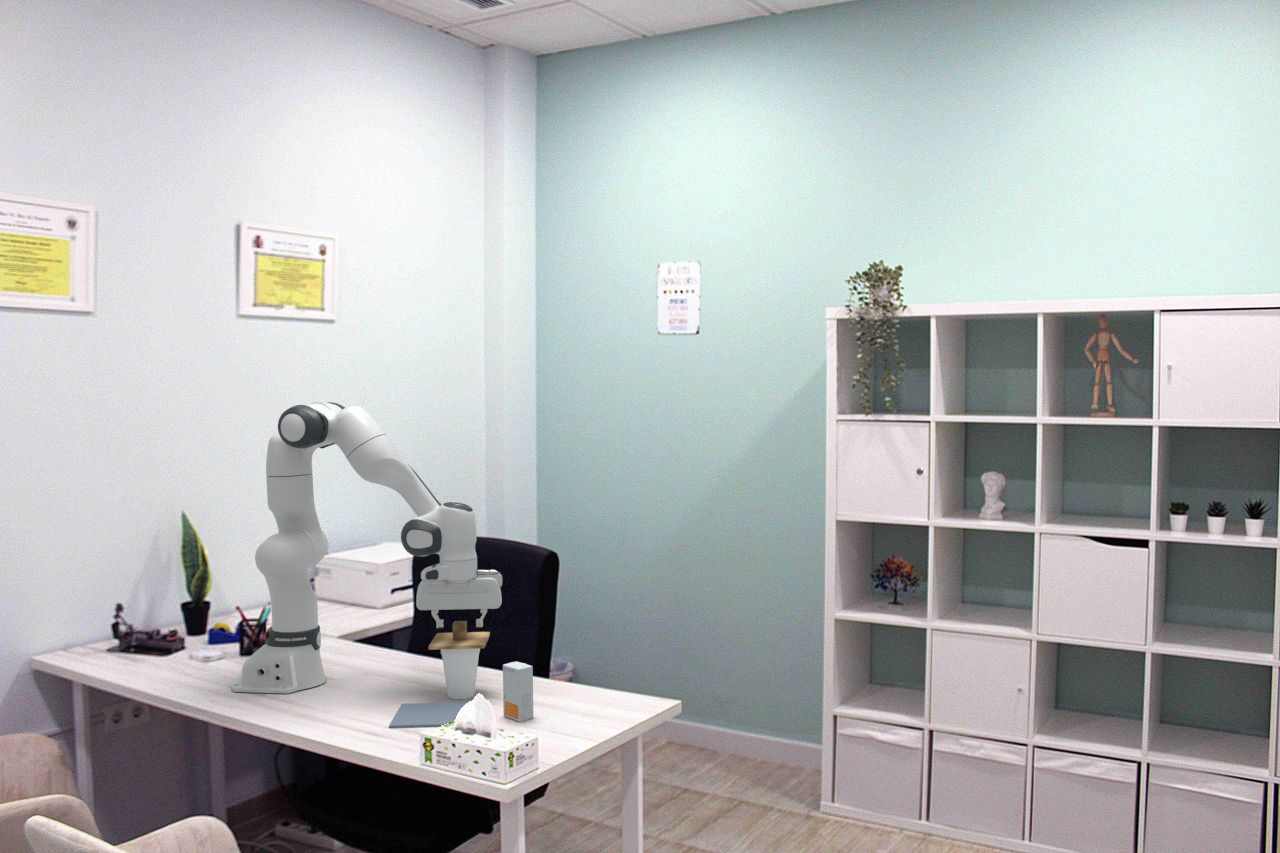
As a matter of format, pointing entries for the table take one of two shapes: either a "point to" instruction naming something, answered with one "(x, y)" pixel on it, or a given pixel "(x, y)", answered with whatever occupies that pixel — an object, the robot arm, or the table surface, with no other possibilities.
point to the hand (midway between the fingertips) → (459, 627)
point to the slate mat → (426, 714)
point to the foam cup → (460, 671)
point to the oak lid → (459, 638)
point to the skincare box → (518, 691)
